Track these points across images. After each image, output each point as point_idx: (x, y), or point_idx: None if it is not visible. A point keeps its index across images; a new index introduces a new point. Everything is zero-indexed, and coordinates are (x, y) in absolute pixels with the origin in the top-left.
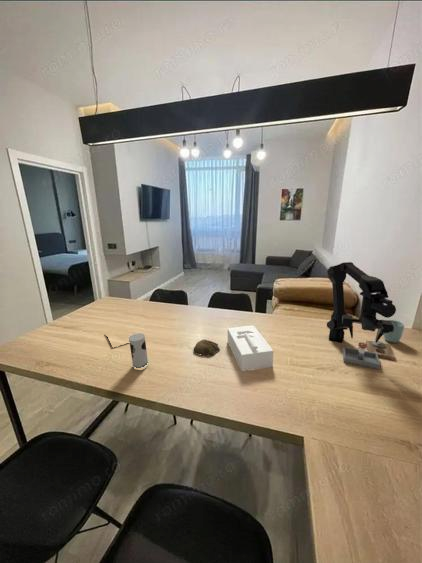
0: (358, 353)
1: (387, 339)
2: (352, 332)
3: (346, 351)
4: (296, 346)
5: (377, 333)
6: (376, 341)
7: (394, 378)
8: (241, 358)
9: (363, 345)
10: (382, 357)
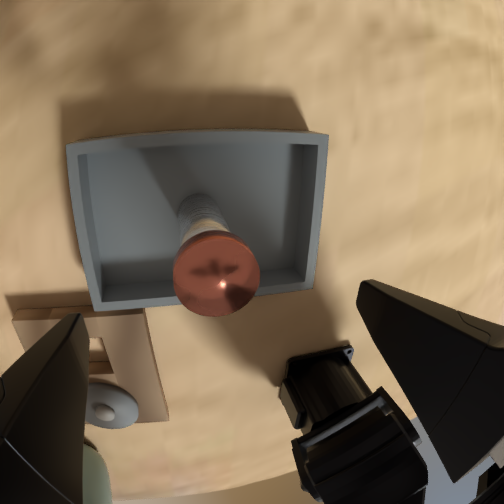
0: (225, 221)
1: (85, 450)
2: (441, 317)
3: (282, 269)
4: (483, 209)
5: (66, 452)
6: (68, 321)
7: (9, 90)
8: None
9: (212, 257)
10: (68, 308)
